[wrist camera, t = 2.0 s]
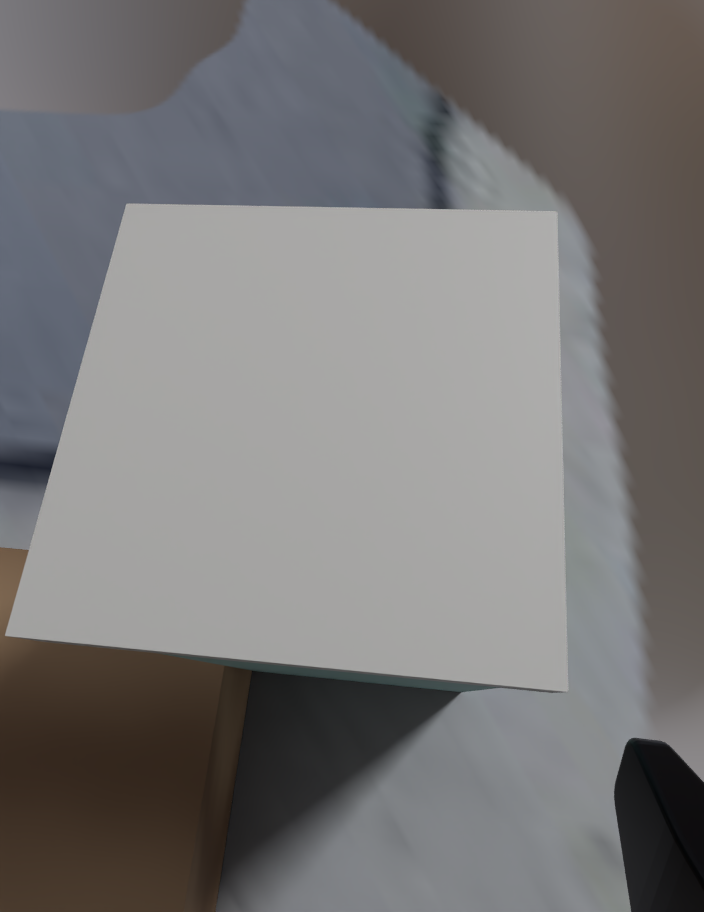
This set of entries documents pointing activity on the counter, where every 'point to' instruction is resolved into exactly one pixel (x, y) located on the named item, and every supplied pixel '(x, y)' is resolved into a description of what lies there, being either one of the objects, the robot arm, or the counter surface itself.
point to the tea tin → (316, 449)
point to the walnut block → (112, 773)
